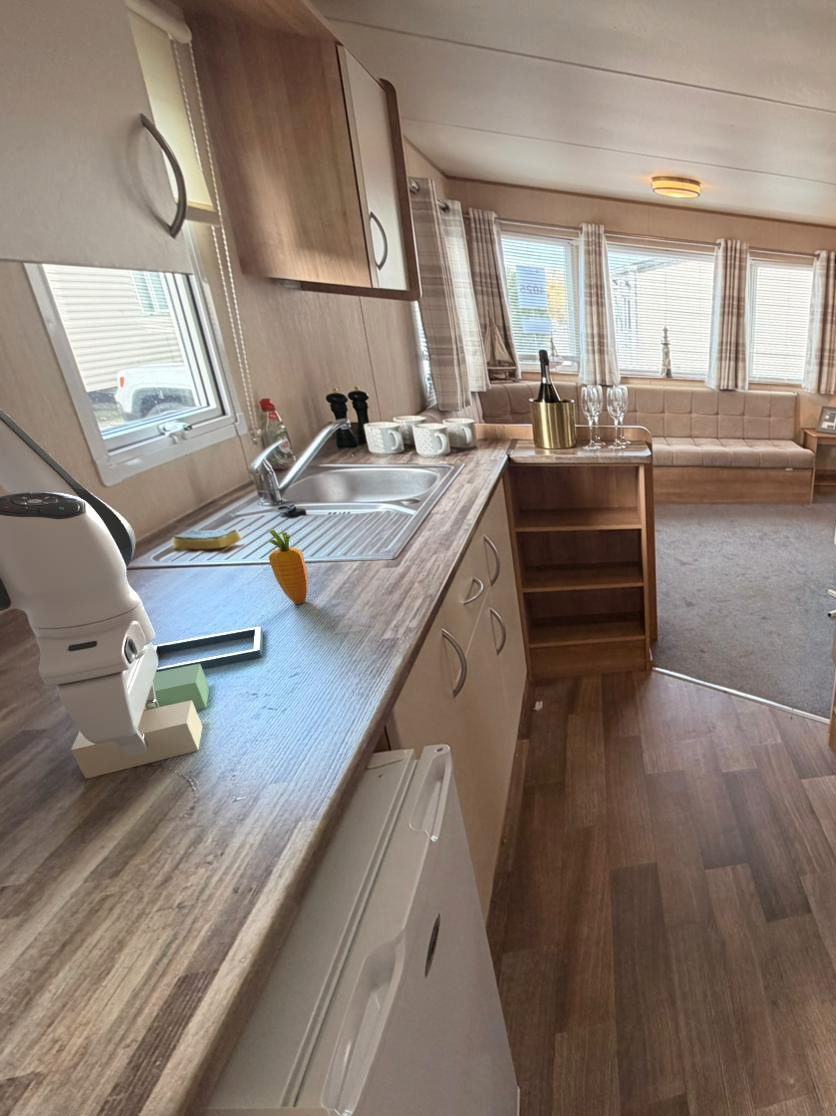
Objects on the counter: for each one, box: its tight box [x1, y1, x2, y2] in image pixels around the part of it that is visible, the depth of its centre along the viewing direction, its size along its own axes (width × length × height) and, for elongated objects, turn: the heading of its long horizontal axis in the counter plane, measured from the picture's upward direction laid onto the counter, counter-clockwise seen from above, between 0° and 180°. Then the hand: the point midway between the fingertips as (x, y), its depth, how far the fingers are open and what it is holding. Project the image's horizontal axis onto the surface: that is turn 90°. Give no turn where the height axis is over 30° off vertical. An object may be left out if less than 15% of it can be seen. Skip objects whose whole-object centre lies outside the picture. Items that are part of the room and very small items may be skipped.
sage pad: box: [153, 664, 211, 711], centre depth 87 cm, size 10×6×5 cm, turn 126°
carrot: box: [268, 529, 309, 605], centre depth 116 cm, size 5×5×15 cm
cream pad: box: [70, 700, 203, 780], centre depth 79 cm, size 10×6×5 cm, turn 126°
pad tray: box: [153, 625, 264, 672], centre depth 101 cm, size 14×10×2 cm
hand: (144, 732), depth 79 cm, fingers open, 8 cm apart
